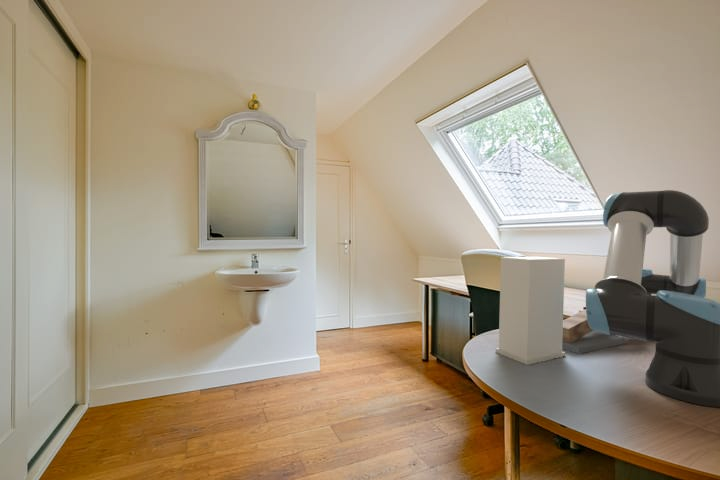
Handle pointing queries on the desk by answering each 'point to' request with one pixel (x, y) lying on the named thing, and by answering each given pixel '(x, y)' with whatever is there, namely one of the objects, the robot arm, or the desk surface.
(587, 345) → the felt mat
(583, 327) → the walnut bar
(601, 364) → the desk surface
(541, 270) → the stand
